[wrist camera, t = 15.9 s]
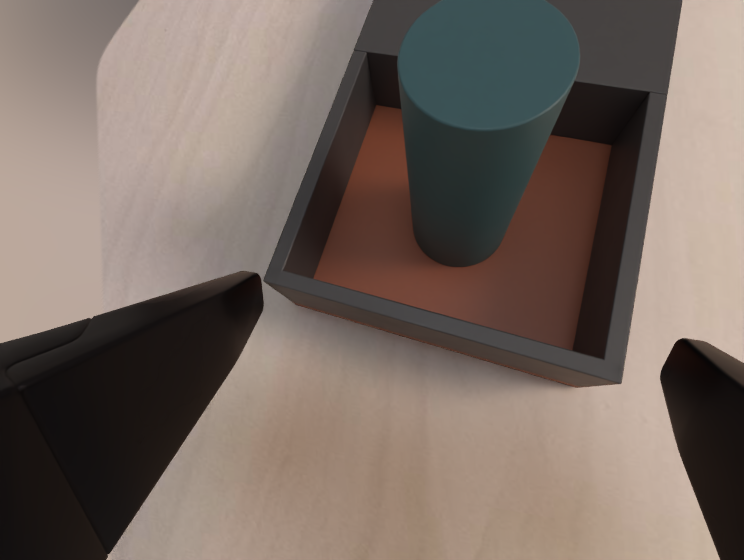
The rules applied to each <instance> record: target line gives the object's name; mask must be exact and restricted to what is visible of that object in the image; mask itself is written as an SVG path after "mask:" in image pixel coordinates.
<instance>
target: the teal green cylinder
mask: <svg viewBox="0 0 744 560" xmlns="http://www.w3.org/2000/svg"><path fill="white" fill-rule="evenodd" d="M579 64H580V48H579V43H578V39H577V36H576V33H575V31H574V29H573V27H572V25H571V24H570V22H569V21H568V19H567V18H566V17H565V16H564V15H563V14H562V13H561V12H560V11H559V10H558V9H557V8H556V7H554V6H553V5H552V4H550V3H548V2H547V1H545V0H442V1H440V2H438V3H436V4H435V5H433V6H431V7H430V8H429V9H427V10H426V11H425V12H424V13H422V14H421V15H420V16H419V17H418V18H417V19H416V20H415V21H414V23H413V24H412V25H411V27H410V28H409V29H408V31H407V33H406V34H405V36H404V38H403V41H402V43H401V46H400V49H399V53H398V60H397V69H398V80H399V90H400V100H401V110H402V121H403V131H404V141H405V151H406V161H407V171H408V182H409V192H410V202H411V212H412V222H413V232H414V236H415V239H416V241H417V243H418V245H419V247H420V248H421V249H422V251H423V252H424V253H425V254H426V255H427V256H429V257H430V258H431V259H433V260H434V261H436V262H438V263H441V264H443V265H447V266H452V267H466V266H471V265H475V264H478V263H480V262H482V261H484V260H486V259H487V258H488V257H490V256H491V255H492V254H493V253H494V252H495V251H496V250H497V249H498V247H499V246H500V244H501V242H502V240H503V237H504V235H505V233H506V231H507V229H508V226H509V224H510V222H511V220H512V218H513V215H514V213H515V211H516V209H517V207H518V204H519V202H520V200H521V198H522V196H523V193H524V191H525V189H526V187H527V185H528V182H529V180H530V178H531V176H532V174H533V171H534V169H535V167H536V165H537V162H538V160H539V158H540V156H541V154H542V151H543V149H544V147H545V145H546V143H547V140H548V138H549V136H550V134H551V132H552V129H553V127H554V125H555V123H556V121H557V118H558V116H559V114H560V112H561V110H562V107H563V105H564V103H565V101H566V98H567V96H568V94H569V92H570V90H571V87H572V85H573V83H574V81H575V79H576V76H577V73H578V69H579Z"/></svg>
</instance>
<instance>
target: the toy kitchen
mask: <svg viewBox="0 0 744 560" xmlns="http://www.w3.org/2000/svg"><path fill="white" fill-rule="evenodd" d="M440 1H442V0H373V3H372V5H371V8H370V10H369V13H368V15H367V18H366V20H365V23H364V26H363V28H362V31H361V33H360V36H359V38H358V41H357V43H356V46H355V48H354V51H353V54H352V57H351V59H350V62H349V64H348V67H347V69H346V72H345V74H344V77H343V79H342V82H341V84H340V87H339V89H338V92H337V95H336V97H335V100H334V102H333V105H332V107H331V110H330V112H329V115H328V117H327V120H326V122H325V125H324V128H323V130H322V133H321V135H320V138H319V140H318V143H317V145H316V148H315V150H314V153H313V155H312V158H311V160H310V163H309V166H308V168H307V171H306V173H305V176H304V178H303V181H302V183H301V186H300V188H299V191H298V193H297V196H296V198H295V201H294V204H293V206H292V209H291V211H290V214H289V216H288V219H287V221H286V224H285V226H284V229H283V231H282V234H281V237H280V239H279V242H278V244H277V247H276V249H275V252H274V254H273V257H272V259H271V262H270V264H269V267H268V269H267V272H266V275H265V277H264V280H263V281H264V282H265V283H267V284H268V285H269V286H271V287H272V288H274V289H275V290H277V291H278V292H279V293H281V294H282V295H284V296H285V297H286V298H288V299H289V300H291V301H292V302H293V303H295V304H296V305H299V306H303V307H306V308H309V309H313V310H316V311H320V312H323V313H326V314H330V315H333V316H336V317H340V318H343V319H347V320H350V321H353V322H357V323H360V324H363V325H367V326H370V327H374V328H377V329H380V330H384V331H387V332H391V333H394V334H397V335H401V336H404V337H407V338H411V339H414V340H418V341H421V342H424V343H428V344H431V345H434V346H438V347H441V348H445V349H448V350H451V351H455V352H458V353H462V354H465V355H468V356H472V357H475V358H478V359H482V360H485V361H489V362H492V363H495V364H499V365H502V366H505V367H509V368H512V369H516V370H519V371H522V372H526V373H529V374H533V375H536V376H539V377H543V378H546V379H549V380H553V381H556V382H560V383H563V384H566V385H570V386H573V387H576V388H578V387H590V386H602V385H614V384H621V383H622V377H623V371H624V364H625V358H626V352H627V345H628V339H629V333H630V326H631V320H632V314H633V308H634V301H635V295H636V289H637V282H638V276H639V270H640V264H641V257H642V251H643V245H644V238H645V232H646V226H647V219H648V213H649V207H650V201H651V194H652V188H653V182H654V175H655V169H656V163H657V157H658V150H659V144H660V138H661V131H662V125H663V119H664V112H665V106H666V100H667V94H668V88H669V82H670V75H671V69H672V63H673V56H674V50H675V44H676V38H677V31H678V25H679V19H680V12H681V6H682V0H545V1H547V2H548V3H550V4H552V5H553V6H554V7H556V8H557V9H558V10H559V11H560V12H561V13H562V14H563V15H564V16H565V17H566V18H567V19H568V21H569V22H570V24H571V25H572V27H573V29H574V31H575V33H576V36H577V39H578V43H579V48H580V64H579V69H578V73H577V76H576V79H575V81H574V83H573V85H572V87H571V90H570V92H569V94H568V96H567V98H566V101H565V103H564V105H563V107H562V110H561V112H560V114H559V116H558V118H557V121H556V123H555V125H554V127H553V129H552V132H551V134H550V136H549V138H548V140H547V143H546V145H545V147H544V149H543V151H542V154H541V156H540V158H539V160H538V162H537V165H536V167H535V169H534V171H533V174H532V176H531V178H530V180H529V182H528V185H527V187H526V189H525V191H524V193H523V196H522V198H521V200H520V202H519V204H518V207H517V209H516V211H515V213H514V215H513V218H512V220H511V222H510V224H509V226H508V229H507V231H506V233H505V235H504V237H503V240H502V242H501V244H500V246H499V247H498V249H497V250H496V251H495V252H494V253H493V254H492V255H491V256H490V257H488V258H487V259H486V260H484V261H482V262H480V263H478V264H475V265H471V266H466V267H452V266H447V265H443V264H441V263H438V262H436V261H434V260H433V259H431V258H430V257H429V256H427V255H426V254H425V253H424V252H423V251H422V249H421V248H420V247H419V245H418V243H417V241H416V239H415V236H414V232H413V222H412V212H411V202H410V192H409V182H408V171H407V161H406V151H405V141H404V131H403V121H402V110H401V100H400V90H399V80H398V69H397V60H398V53H399V49H400V46H401V43H402V41H403V38H404V36H405V34H406V33H407V31H408V29H409V28H410V27H411V25H412V24H413V23H414V21H415V20H416V19H417V18H418V17H419V16H420V15H421V14H422V13H424V12H425V11H426V10H427V9H429V8H430V7H431V6H433V5H435V4H436V3H438V2H440Z"/></svg>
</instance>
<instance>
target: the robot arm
mask: <svg viewBox="0 0 744 560" xmlns="http://www.w3.org/2000/svg"><path fill="white" fill-rule="evenodd" d="M263 306H264V301H263V292H262V283H261V278H260V276H259V275H258V274H257V273H254V272H247V271H240V272H237V273H234V274H230V275H227V276H224V277H221V278H217V279H214V280H211V281H208V282H204V283H201V284H198V285H195V286H191V287H188V288H185V289H182V290H178V291H175V292H172V293H169V294H165V295H162V296H159V297H156V298H152V299H149V300H146V301H143V302H139V303H136V304H133V305H130V306H126V307H123V308H120V309H117V310H113V311H110V312H107V313H104V314H100V315H97V316H94V317H93V318H92V319H90V318H87V319H84V320H81V321H77V322H74V323H71V324H68V325H65V326H61V327H57V328H54V329H51V330H48V331H44V332H41V333H37V334H33V335H30V336H26V337H23V338H19V339H15V340H11V341H8V342H4V343H0V560H106V559H107V558H108V555H107V554H110V553H111V551H112V550H113V548H114V547H115V545H116V544H117V542H118V540H119V539H120V537H121V536H122V534H123V533H124V531H125V530H126V528H127V527H128V525H129V524H130V522H131V521H132V519H133V518H134V516H135V515H136V513H137V512H138V510H139V509H140V507H141V506H142V504H143V503H144V501H145V500H146V498H147V497H148V495H149V494H150V492H151V491H152V489H153V488H154V486H155V485H156V483H157V482H158V480H159V479H160V477H161V476H162V474H163V473H164V471H165V469H166V468H167V466H168V465H169V463H170V462H171V460H172V459H173V457H174V456H175V454H176V453H177V451H178V450H179V448H180V447H181V445H182V444H183V442H184V441H185V439H186V438H187V436H188V435H189V433H190V432H191V430H192V429H193V427H194V426H195V424H196V423H197V421H198V420H199V418H200V417H201V415H202V414H203V412H204V411H205V409H206V408H207V406H208V405H209V403H210V401H211V400H212V398H213V397H214V395H215V394H216V392H217V391H218V389H219V388H220V386H221V385H222V383H223V382H224V380H225V379H226V377H227V376H228V374H229V373H230V371H231V370H232V368H233V367H234V365H235V363H236V362H237V360H238V358H239V356H240V355H241V353H242V351H243V349H244V347H245V345H246V343H247V341H248V339H249V337H250V335H251V333H252V331H253V329H254V327H255V325H256V323H257V321H258V319H259V317H260V315H261V313H262V311H263ZM660 380H661V385H662V389H663V393H664V397H665V401H666V405H667V409H668V413H669V416H670V420H671V424H672V428H673V432H674V436H675V440H676V443H677V447H678V450H679V453H680V456H681V458H682V461H683V464H684V467H685V469H686V472H687V474H688V477H689V480H690V482H691V485H692V487H693V490H694V493H695V495H696V498H697V500H698V503H699V506H700V508H701V511H702V513H703V516H704V519H705V521H706V524H707V526H708V529H709V532H710V534H711V537H712V539H713V542H714V545H715V547H716V550H717V552H718V555H719V558H720V560H744V363H743V362H741V361H739V360H737V359H735V358H734V357H732V356H730V355H728V354H727V353H725V352H723V351H721V350H719V349H718V348H716V347H714V346H712V345H711V344H709V343H707V342H704V341H700V340H693V339H686V338H682V339H680V340H678V341H677V342H676V343H675V344H674V346H673V348H672V350H671V352H670V354H669V356H668V358H667V360H666V362H665V364H664V366H663V368H662V370H661V375H660Z"/></svg>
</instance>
